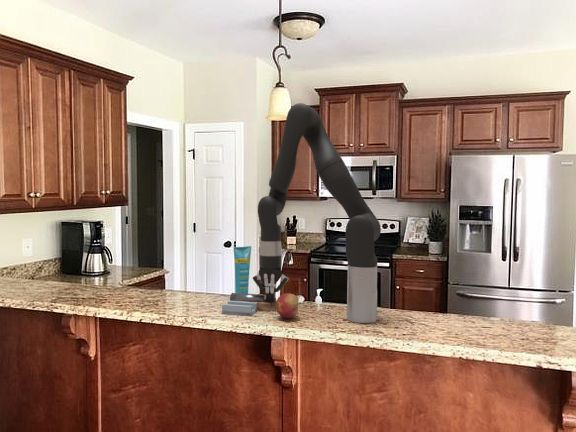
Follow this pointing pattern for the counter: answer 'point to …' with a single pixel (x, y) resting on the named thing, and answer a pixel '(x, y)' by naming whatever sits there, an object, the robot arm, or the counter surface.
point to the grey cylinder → (248, 297)
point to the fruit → (287, 305)
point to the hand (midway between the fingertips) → (270, 303)
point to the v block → (239, 308)
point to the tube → (242, 268)
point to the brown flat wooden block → (264, 305)
